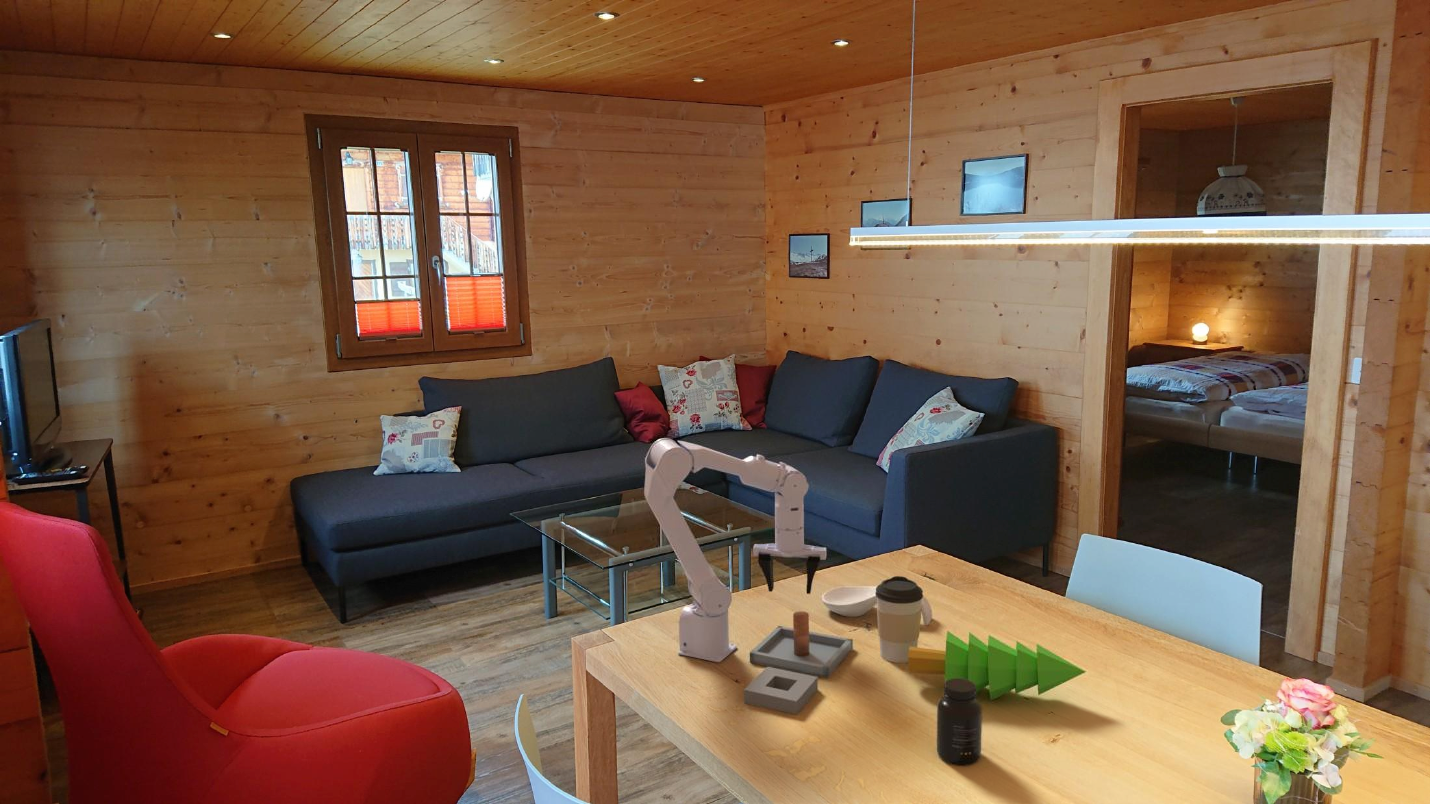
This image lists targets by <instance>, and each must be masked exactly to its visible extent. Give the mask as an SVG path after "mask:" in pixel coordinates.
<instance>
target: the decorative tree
mask: <svg viewBox="0 0 1430 804" xmlns="http://www.w3.org/2000/svg"><path fill="white" fill-rule="evenodd" d="M907 664H908V672H909V673H908V674H913V675H915V674H916V675H918V674H919V675H920V674H923V675H926V674H927V675H944V683H945V682H946V681H947V680H949V679H953V678H961V679H966V680H969V681H971V682H973V683H974V684H975V686H976V693H977V692H980V691H981V690H983V689H984V688H986V687H988V691H989V699H990V701H992V700H994V699H997V698H999V697H1001V696H1002V695H1005V694H1007V693H1008V692H1011V691H1012V690H1014V692H1015V695H1017V694H1019V693H1021V692H1023V691H1026V690H1029V689H1031V688H1033V687H1036V686H1037V693H1038V694H1037V695H1038V696H1040V695H1042V694H1044V693H1046V692H1048V691H1050V690H1052V689H1054V688H1056V687H1058V686H1060V685H1062V684H1064V683H1066V682H1068V681H1070V680H1072V679H1074V678H1077V677H1078V676H1081V675H1083V674H1085V673H1086V672H1087V671H1086V670H1084V669H1082V668H1080V667H1079V666H1077V665H1075V664H1073V663H1071V662H1069V661H1068V660H1066V659H1064V658H1063V657H1061V656H1059V655H1058V654H1055V653H1054V652H1052V651H1050V650H1048V649H1047V648H1045V647H1043V646H1041V645H1040V644H1038V643H1036V652H1035V651H1033V650H1032V649H1031V648H1029V647H1027V646H1026V645H1024V644H1022V643H1021V642H1020V641H1017V640H1016V642H1015V648H1014V647H1011V646H1009V645H1008V644H1006V643H1004V642H1002V641H1000V640H999V639H997V638H995V637H994V636H991V635H989V634H988V641H987V644H986V643H984V642H983V641H982V640H980V639H979V638H978V637H976V635H974V634H972V632H969V633H968V643H967V642H966V641H963V640H962V639H961V638H959V637H958V636H956V635H954V634H953V633H952V632H951V631H949V630H947V631H946V640H945V650H940V649H932V648H923V647H918V646H917V647H909V654H908V662H907Z"/></svg>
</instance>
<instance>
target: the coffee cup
mask: <svg viewBox="0 0 1430 804" xmlns="http://www.w3.org/2000/svg"><path fill="white" fill-rule="evenodd" d="M876 586H877V587H876V593H875V595H876V596H877V604H876V615H877V618H876V619H877V620H876V621H877V634H878V638H879V650H880V651H879V653H880V657H881V658H882V659H883V660H885V661H888V662H891V663H897V664H905V663H908V654H909V647H918V643H919V638H920V632H921V631H920V629H921V621H922V612H921V611H922V607H921V601H922V598H923V596H924V595H923V593H924V590H923V589H922V587H921V586H919V585H918V583H916V582H915V581H914V580H911V579H909V578H907V577H906V576H900V575H899V576H898V575H897V576H895V575H894V576H893V577H891V578H888V579H885V580H883V581H881V583H880V584H878V585H876Z"/></svg>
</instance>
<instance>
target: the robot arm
mask: <svg viewBox="0 0 1430 804" xmlns="http://www.w3.org/2000/svg"><path fill="white" fill-rule="evenodd" d="M678 443H679V444H678ZM644 464H645V476H644V477H645V478H644V489H643V490H644V492H643V494H644V498H645V500H646V501H647V504H648V505H649V507H650V510H651V511H652V513H653V515H654V517H655V518H656V520H657V522H658V524H659V526H660V528H661V529H662V531H663V533H664V535H665V536H666V538H667V541H668V543H669V544H670V546H671V548H672V550H673V551H674V554H675V555H676V557H677V559H678V561H679V563H680V565H681V566H682V568H683V570H684V574H685V576H686V579H687V583H688V584H687V587H688V588H687V589H688V592H689V594H690V595H691V596H692V597H693V602H692V604H686V605H685V606H684V607H683V608H682V610H681V612H680V615H679V620H678V633H679V636H678V637H679V649H678V651H677V654H678V655H682V656H685V657H686V656H687V657H690V658H691V657H692V658H697V659H699V660H700V659H701V660H706V661H710V662H714V663H721V662H722V661H724V659H726V658H727V656H729V655H730V654H731V653H733V651H734V650H735V649H737V648H738V645H737V644H734V643H731V642H730V637H729V636H730V635H729V633H730V631H729V630H730V628H729V627H730V624H729V609H730V606H731V604H732V599H733V596H732V592H731V591H730V589H729V587H727V586H726V585H724V583H722V581H721V580H720V579H719V578H718V577H717V575H716V574H715V572H714V570H713V569H712V567H711V566H710V563H708V560H707V559H706V556H705V555H704V552H702V551H703V550H702V549H701V547H700V545H699V544H698V542H697V540H696V538H695V536H694V533H693V532H692V531H691V529H690V527H689V525H688V523H687V521H686V519H685V518H684V516H683V514H682V512H681V510H680V508H679V506H678V505H677V502H676V500H675V499H674V497H675V494H676V491H677V489H678V487H679V486H681V483H683V481H684V480H685V479H686V478H687V476H689V474H690V472H692V473H694V474H695V473H697V472H699V471H700V470H702V469H704V468H707V469H710V470H715V471H719V472H723V473H727V474H731V475H735V476H738V477H739V480H740V481H741V483H742V484H744V485H746V486H750V487H751V488H752V487H753V488H756V489H760V490H763V491H767V492H771V493H774V525H775V526H774V536H775V537H774V539H775V540H774V542H775V543H764V544H763V543H755V544H753V548H752V549H753V550H752V552H753V554H752V555H753V557H758V559H757V563H758V566H759V567H760V569H761V570H762V573H763V575H764V577H765V580H766V585H767V588H768V592H771V593H772V592H773V591H774V587H775V586H774V584H775V581H774V557H783V558H803V559H804V558H805V559H807V560H806V563H805V566H806V595H811V592H812V586H813V580H814V577H815V574H816V572H817V570H818V568H819V565H820V562H821V561H822V560H823V561H825V560H826V559H827V547H821V546H817V545H815V546H814V545H811V544H810V545H809V544H805V538H804V537H805V532H804V531H805V528H804V527H805V520H804V519H805V516H804V515H805V513H804V512H805V511H804V509H805V505H804V497H805V496H806V494H807V493H808V491H809V485H810V484H809V483H808V481H807V478H806V476H805V475H804V474H803V472H801V471H799V470H798V469H796V468H794V467H792V466H791V465H788V464H787V463H785V462H782V461H779V463H776V462H774V461H770V460H767V459H766V457H765V456H764V455H761V454H756V456H755V455H754V456H753V455H749V456H747V457H745V458H744V459H740V458H738V457H735V456H732V455H728V454H726V453H723V452H721V451H718V450H714V449H712V448H708V447H705V446H703V445H699V444H696V443H691V442H688V441H683V440H677V442H676V441H675V440H673V439H671V438H667V437H664V438H663V437H662V438H659V439H657V440H656V441H655V440H654V442H653V443H652V444H651V445H650V448H649V449H648V451H647V453H646V457H644Z"/></svg>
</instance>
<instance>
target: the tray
mask: <svg viewBox="0 0 1430 804" xmlns="http://www.w3.org/2000/svg"><path fill="white" fill-rule="evenodd" d="M853 644H854V640H853V638H849V637H848V638H847V637H841V636H837V635H836V636H835V635H831V634H825V633H819V632H814V631H810V630H809V655H807V656H797V655H795V654H794V629H793V628H792V627H787V626H784V625H783V626H782V625H777V627H775V629H774V630H772V632H770V633H769V634H768V635H767V636H766V637H765V638H763V640H761V642H760V643H759V642H758V644H757V645H756V646H755V647H754V648H753V649H752V650H751V651H750V652H749V663H752V664H756V665H761V666H766V667H772V668H777V669H781V670H786V671H791V672H796V673H801V674H806V675H810V676H815V677H818V678H824V679H828V678H830V677H831V675H832V674H833V672H835V670H837V668H838V666H840V665H841V664H842V662H843V661H844V660H845V659H846V657H847V656H848V655H849V654H850V653H851V651H853V649H854V645H853Z"/></svg>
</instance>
